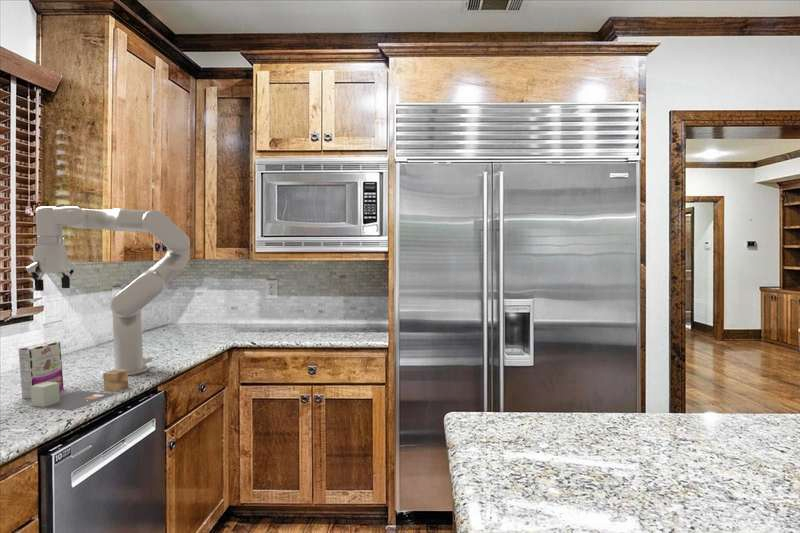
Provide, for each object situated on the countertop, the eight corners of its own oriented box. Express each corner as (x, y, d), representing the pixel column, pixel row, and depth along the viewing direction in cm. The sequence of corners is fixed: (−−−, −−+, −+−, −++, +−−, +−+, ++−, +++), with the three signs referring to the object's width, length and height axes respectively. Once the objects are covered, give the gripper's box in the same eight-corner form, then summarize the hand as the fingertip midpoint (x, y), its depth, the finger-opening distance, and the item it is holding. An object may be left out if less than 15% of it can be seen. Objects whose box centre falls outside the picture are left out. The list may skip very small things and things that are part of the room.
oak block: (116, 386, 168) (115, 369, 168) (128, 387, 167) (127, 370, 167) (104, 390, 164) (103, 373, 163) (115, 391, 162) (115, 374, 162)
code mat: (77, 391, 164) (77, 390, 164) (117, 394, 159) (117, 394, 159) (29, 406, 148) (29, 405, 148) (71, 411, 143) (71, 410, 143)
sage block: (48, 400, 154) (46, 381, 153) (59, 401, 152) (58, 382, 152) (31, 405, 149) (30, 386, 148) (44, 406, 147) (42, 387, 147)
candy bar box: (51, 388, 168) (49, 341, 167) (64, 389, 167) (61, 341, 166) (20, 398, 157) (17, 348, 156) (33, 399, 156) (30, 348, 155)
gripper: (65, 241, 184) (67, 287, 185) (17, 241, 167) (20, 291, 168) (80, 241, 182) (83, 287, 183) (33, 241, 165) (36, 291, 166)
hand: (53, 289), depth 175 cm, fingers open, 9 cm apart
